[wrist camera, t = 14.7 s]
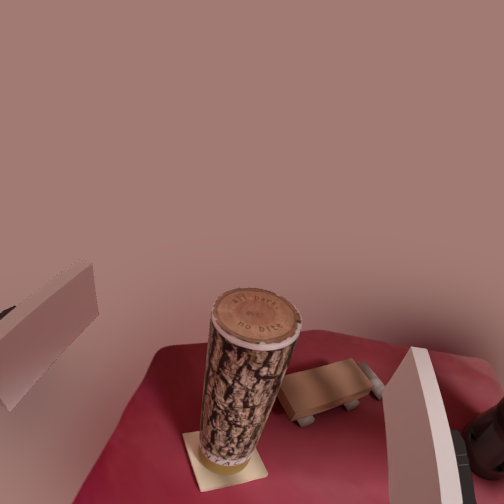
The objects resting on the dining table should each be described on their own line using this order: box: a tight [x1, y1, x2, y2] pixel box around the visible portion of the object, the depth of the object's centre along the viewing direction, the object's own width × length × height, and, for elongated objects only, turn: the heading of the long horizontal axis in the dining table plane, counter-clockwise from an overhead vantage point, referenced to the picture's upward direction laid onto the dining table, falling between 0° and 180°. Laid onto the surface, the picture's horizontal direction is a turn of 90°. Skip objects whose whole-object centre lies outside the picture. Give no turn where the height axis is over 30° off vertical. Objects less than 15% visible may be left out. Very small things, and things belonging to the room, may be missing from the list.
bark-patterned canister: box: [198, 288, 302, 475], centre depth 28 cm, size 7×7×25 cm
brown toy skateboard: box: [277, 358, 385, 427], centre depth 45 cm, size 20×8×5 cm, turn 111°
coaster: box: [183, 431, 268, 492], centre depth 34 cm, size 9×9×1 cm
